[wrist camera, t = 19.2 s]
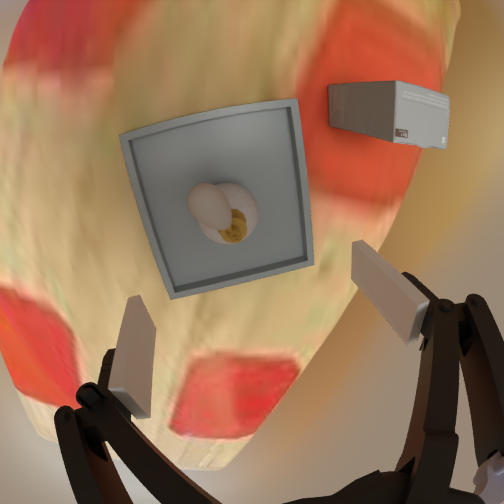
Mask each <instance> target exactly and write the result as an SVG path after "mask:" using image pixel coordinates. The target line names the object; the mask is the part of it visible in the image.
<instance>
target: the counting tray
mask: <svg viewBox="0 0 504 504" xmlns="http://www.w3.org/2000/svg"><path fill="white" fill-rule="evenodd" d="M119 138H120V143H121V147H122V151H123V155H124V159H125V163H126V167H127V170H128V174H129V178H130V182H131V185H132V189H133V192H134V196H135V199H136V202H137V206H138V209H139V212H140V215H141V219H142V222H143V225H144V228H145V231H146V234H147V237H148V240H149V243H150V246H151V249H152V252H153V254H154V257H155V260H156V263H157V266H158V268H159V271H160V274H161V276H162V279H163V282H164V284H165V287H166V289H167V292H168V294H169V297H170V300H172V299H177V298H181V297H186V296H190V295H194V294H199V293H203V292H207V291H212V290H216V289H220V288H224V287H228V286H233V285H237V284H241V283H245V282H249V281H253V280H257V279H261V278H265V277H269V276H273V275H277V274H281V273H285V272H289V271H293V270H297V269H301V268H304V267H308V266H312V265H314V250H313V235H312V221H311V209H310V198H309V187H308V177H307V168H306V159H305V151H304V142H303V135H302V127H301V120H300V113H299V106H298V100H297V98H296V99H285V100H275V101H267V102H259V103H252V104H245V105H239V106H233V107H227V108H221V109H216V110H211V111H206V112H201V113H197V114H192V115H188V116H184V117H180V118H176V119H172V120H168V121H164V122H160V123H157V124H153V125H150V126H146V127H143V128H140V129H136V130H133V131H130V132H127V133H124V134H121V135H119ZM200 183H210V184H213V185H218V184H221V183H234V184H238V185H240V186H242V187H244V188H246V189H247V190H248V191H249V192H250V193H251V194H252V195H253V197H254V198H255V200H256V202H257V206H258V210H259V217H258V222H257V225H256V227H255V229H254V230H253V232H252V233H251V234H250V235H249V236H248V237H247V238H246V239H244V240H243V241H241V242H239V243H236V244H231V245H227V244H220V243H216V242H214V241H213V240H211V239H209V238H208V237H207V236H206V235H205V234H204V233H203V232H202V231H201V229H200V227H199V224H198V220H197V219H196V218H195V217H194V216H193V215H192V214H191V212H190V210H189V208H188V205H187V197H188V194H189V192H190V191H191V189H192V188H193V187H195V186H196V185H198V184H200Z"/></svg>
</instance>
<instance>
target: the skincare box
mask: <svg viewBox="0 0 504 504" xmlns="http://www.w3.org/2000/svg"><path fill="white" fill-rule="evenodd" d="M328 104H329V127H335V128H340V129H344V130H348V131H352V132H357V133H361V134H365V135H368V136H371V137H375V138H379V139H382V140H385V141H389V142H393V143H401V144H410V145H418V146H419V147H421V148H427V147H430V148H437V149H444V150H446V149H447V139H448V125H449V108H450V103H449V96H447V95H444V94H442V93H439V92H436V91H433V90H430V89H427V88H424V87H421V86H417V85H414V84H410V83H406V82H402V81H398V80H396V81H375V82H357V83H344V84H333V85H329V86H328Z"/></svg>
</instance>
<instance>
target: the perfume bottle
mask: <svg viewBox="0 0 504 504" xmlns="http://www.w3.org/2000/svg"><path fill="white" fill-rule="evenodd" d="M187 205H188V208H189V210H190V212H191V214H192V215H193V216H194V217H195V218H196V219H197V220H198V224H199V227H200V229H201V231H202V232H203V233H204V234H205V235H206V236H207V237H208V238H209V239H211V240H213V241H214V242H216V243H220V244H227V245H231V244H236V243H239V242H241V241H243V240H244V239H246V238H247V237H248V236H249V235H250V234H251V233H252V232H253V230H254V229H255V227H256V225H257V222H258V217H259V210H258V206H257V202H256V200H255V198H254V197H253V195H252V194H251V193H250V192H249V191H248V190H247V189H246V188H244V187H242V186H240V185H238V184H234V183H221V184H218V185H213V184H210V183H200V184H198V185H196V186H195V187H193V188H192V189H191V191H190V192H189V194H188V197H187Z"/></svg>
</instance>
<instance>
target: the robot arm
mask: <svg viewBox="0 0 504 504" xmlns="http://www.w3.org/2000/svg"><path fill="white" fill-rule="evenodd" d="M351 279H352V280H353V282H354V283H355V284H356V285H357V286H358V287H359V288H360V289H361V291H362V292H363V293H364V294H365V295H366V297H367V298H368V299H369V300H370V301H371V302H372V304H373V305H374V306H375V307H376V308H377V310H378V311H379V312H380V313H381V315H382V316H383V317H384V318H385V319H386V321H387V322H388V323H389V324H390V326H392V328H393V329H394V330H395V332H396V333H397V334H398V335H399V337H400V338H401V339H402V340H403V342H404V343H405V344H406V345H409V344H411V343H413V342H415V341H417V340H418V337H419V334H420V332H421V334H422V335H423V336H424V338H423V341H422V344H421V346H420V349H419V350H421V349H422V353H421V363H420V370H419V377H418V385H417V390H416V396H415V402H414V407H413V413H412V417H411V422H410V426H409V430H408V434H407V438H406V442H405V446H404V450H403V453H402V455H401V457H400V459H399V461H398V463H397V466H396V468H395V471H388V472H381V473H380V471H379V470H377V471H374V472H372V473H370V474H368V475H366V476H363V477H361V478H359V479H356V480H355V481H353V482H352V483H350V484H349V485H347V486H346V487H344V488H343V489H341V490H340V491H338V492H337V493H335V494H333V495H330V496H323V497H314V498H302V499H299V500H295V501H291V502H287V503H283V504H500V503H501V502H503V501H504V341H503V338H502V336H501V333H500V332H499V329H498V327H497V324H496V322H495V320H494V318H493V315H492V313H491V311H490V309H489V307H488V305H487V303H486V301H485V300H484V298H483V297H481V296H480V295H477V294H469V295H468V296H467V298H466V301H465V302H464V303H458V304H454V303H453V302H452V301H450V300H448V299H439V298H437V297H436V296H435V295H434V294H433V293H432V292H431V291H430V290H429V289H428V288H426V286H424V285H423V284H422V283H421V282H419V280H418V279H417V278H416V277H415V276H413V275H411V274H409V273H407V272H403V273H400V272H399V271H398V270H397V269H395V268H394V267H393V266H392V265H391V264H390V263H389V262H387V261H386V260H385V259H384V258H383V257H382V256H381V255H380V254H379V253H377V252H376V251H375V250H374V249H373V248H372V247H370V246H369V245H368V244H367V243H366V242H364V241H363V240H359V241H355V242H352V267H351ZM155 337H156V327H155V325H154V323H153V321H152V319H151V317H150V315H149V313H148V311H147V309H146V307H145V305H144V303H143V301H142V298H141V296H140V295H138V296H133V297H129V298H128V301H127V305H126V309H125V313H124V316H123V320H122V324H121V328H120V332H119V336H118V341H117V345H116V348H114V349H108V351H107V352H106V354H105V356H104V358H103V362H102V366H101V370H100V371H101V372H100V375H99V379H98V384H97V385H96V384H95V383H93V382H88V383H85V384H83V385H82V386H81V387H80V388H79V389H78V391H77V393H76V400H77V402H78V403H79V404H80V405H81V406H82V408H79V409H76V410H73V409H72V408H71V407H70V406H66V405H65V406H62V407H60V408H59V409H58V410H57V411H56V413H55V416H54V423H55V428H56V433H57V437H58V442H59V446H60V449H61V454H62V458H63V461H64V465H65V468H66V472H67V475H68V478H69V481H70V484H71V487H72V490H73V493H74V495H75V498H76V501H77V503H78V504H133V502H132V500H131V498H130V496H129V494H128V492H127V491H126V489H125V487H124V485H123V483H122V481H121V479H120V476H119V474H118V472H117V470H116V468H115V465H114V463H113V461H112V459H111V456H110V454H109V451H108V449H107V446H106V444H105V441H108V443H109V444H110V446H111V447H112V448H113V450H114V451H115V452H116V453H117V455H118V456H119V457H120V458H121V460H122V461H123V462H124V463H125V464H126V466H127V467H128V468H129V469H130V471H131V472H132V473H133V474H134V475H135V476H136V477H137V478H138V480H139V481H140V482H141V483H142V484H143V485H144V486H145V487H146V488H147V490H149V492H150V493H151V494H152V495H153V496H154V497H155V498H156V499H157V500H158V501H159V502H160V503H161V504H222V503H220V502H219V501H218V500H216V499H215V498H214V497H212V496H211V495H210V494H208V493H207V492H206V491H205V490H203V489H202V488H201V487H200V486H198V485H197V484H196V483H195V482H194V481H192V480H191V479H190V478H189V477H188V476H186V475H185V474H184V473H183V472H182V471H181V470H180V469H179V468H177V467H176V466H175V465H174V464H173V463H172V462H171V461H170V460H169V459H168V458H167V457H166V456H165V455H164V454H162V453H161V452H160V451H159V450H158V449H157V448H156V447H155V446H154V445H153V444H152V443H151V441H150V440H149V439H148V438H147V437H146V436H145V435H144V434H143V433H142V432H141V431H140V430H139V429H138V428H137V426H136V425H135V424H134V423H133V422H132V421H131V414H132V415H133V416H134V417H135V418H136V419H145V418H150V417H151V390H152V373H153V360H154V348H155ZM459 360H460V364H461V368H462V372H463V377H464V381H465V386H466V391H467V396H468V401H469V407H470V413H471V420H472V427H473V436H474V446H475V454H476V459H477V464H478V467H479V468H478V470H477V472H476V475H475V477H474V479H473V483H474V485H476V487H475V491H474V493H469V492H465V491H461V490H457V489H454V488H450V487H449V486H450V482H451V478H452V474H453V469H454V464H455V460H456V453H457V448H458V441H459V437H458V435H457V434H456V433H455V424H456V415H457V405H458V391H459Z"/></svg>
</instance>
